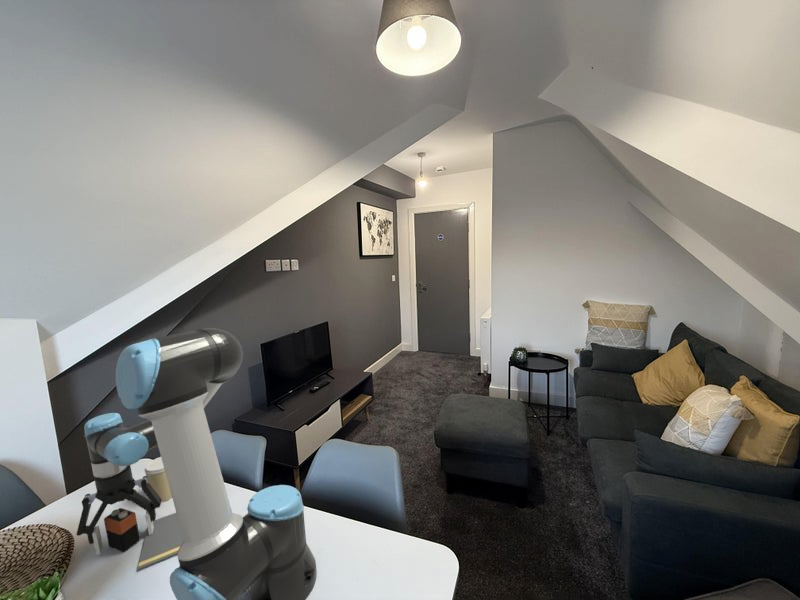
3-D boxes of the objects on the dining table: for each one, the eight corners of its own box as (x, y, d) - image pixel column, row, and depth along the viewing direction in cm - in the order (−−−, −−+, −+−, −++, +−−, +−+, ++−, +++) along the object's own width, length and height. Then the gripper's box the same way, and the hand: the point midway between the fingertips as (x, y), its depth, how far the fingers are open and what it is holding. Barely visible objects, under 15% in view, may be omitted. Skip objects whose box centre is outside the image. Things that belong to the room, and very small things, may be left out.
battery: (123, 553, 89) (118, 520, 87) (108, 547, 91) (102, 515, 90) (141, 540, 93) (135, 508, 91) (125, 534, 95) (119, 504, 94)
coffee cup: (189, 486, 115) (184, 454, 113) (166, 505, 106) (160, 472, 104) (167, 484, 117) (162, 453, 115) (142, 503, 108) (136, 470, 106)
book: (201, 545, 90) (200, 543, 90) (137, 571, 83) (137, 569, 83) (202, 504, 105) (202, 502, 105) (149, 523, 99) (149, 522, 98)
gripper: (165, 448, 98) (176, 513, 101) (59, 478, 87) (76, 551, 89) (162, 461, 91) (174, 530, 94) (47, 495, 80) (65, 573, 83)
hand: (126, 540), depth 92 cm, fingers open, 11 cm apart
